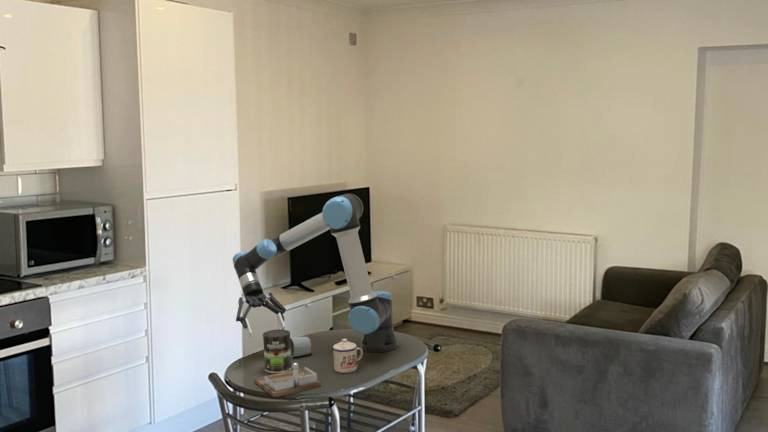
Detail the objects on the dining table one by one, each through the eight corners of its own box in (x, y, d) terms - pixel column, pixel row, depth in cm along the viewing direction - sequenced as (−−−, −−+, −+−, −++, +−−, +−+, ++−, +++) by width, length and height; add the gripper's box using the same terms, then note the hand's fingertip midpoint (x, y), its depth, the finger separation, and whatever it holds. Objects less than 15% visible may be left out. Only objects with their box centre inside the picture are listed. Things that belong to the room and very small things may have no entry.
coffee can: (291, 372, 287) (289, 336, 286) (263, 374, 287) (261, 337, 285) (293, 363, 298) (291, 328, 296) (266, 365, 297) (264, 329, 295)
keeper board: (254, 382, 278) (254, 378, 278) (300, 372, 287) (300, 368, 287) (273, 397, 263) (273, 393, 263) (321, 386, 272) (321, 382, 272)
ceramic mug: (313, 355, 307) (312, 337, 306) (294, 359, 303) (293, 340, 302) (304, 349, 316) (303, 331, 315) (285, 352, 312) (284, 334, 311)
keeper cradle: (265, 384, 272) (263, 360, 270) (306, 375, 280) (305, 352, 278) (276, 392, 263) (275, 368, 262) (318, 383, 271) (317, 359, 270)
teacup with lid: (341, 375, 283) (339, 344, 281) (329, 368, 290) (328, 338, 289) (369, 368, 289) (367, 338, 287) (357, 362, 297) (355, 332, 295)
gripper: (278, 287, 317) (294, 331, 306) (219, 296, 304) (234, 342, 293) (282, 277, 311) (299, 321, 301) (222, 285, 299) (238, 332, 288)
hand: (267, 331), depth 297 cm, fingers open, 13 cm apart
